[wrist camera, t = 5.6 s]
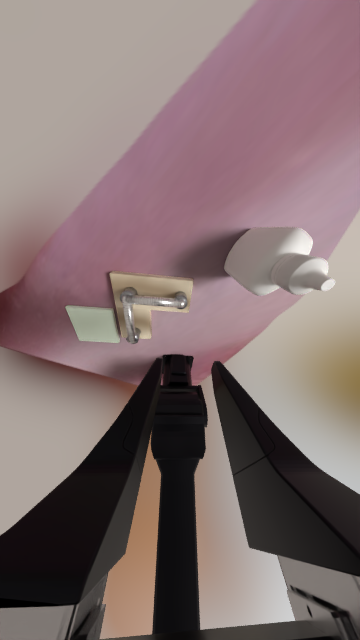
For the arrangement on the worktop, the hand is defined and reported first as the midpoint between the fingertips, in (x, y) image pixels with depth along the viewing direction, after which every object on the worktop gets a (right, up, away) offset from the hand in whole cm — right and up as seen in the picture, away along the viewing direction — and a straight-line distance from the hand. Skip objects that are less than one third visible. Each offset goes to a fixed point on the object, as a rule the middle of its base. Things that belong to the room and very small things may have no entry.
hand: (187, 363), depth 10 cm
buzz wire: (-5, +4, +12) cm, 14 cm away
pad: (-15, +2, +14) cm, 21 cm away
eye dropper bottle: (+8, +12, +8) cm, 16 cm away
